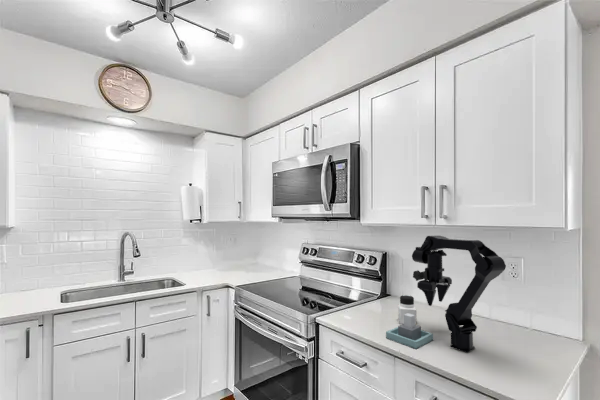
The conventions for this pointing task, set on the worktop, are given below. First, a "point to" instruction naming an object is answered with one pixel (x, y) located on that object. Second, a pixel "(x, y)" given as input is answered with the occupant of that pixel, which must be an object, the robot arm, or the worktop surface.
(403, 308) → the medicine bottle
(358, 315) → the worktop surface
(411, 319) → the grey tabbed block
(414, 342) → the tray
